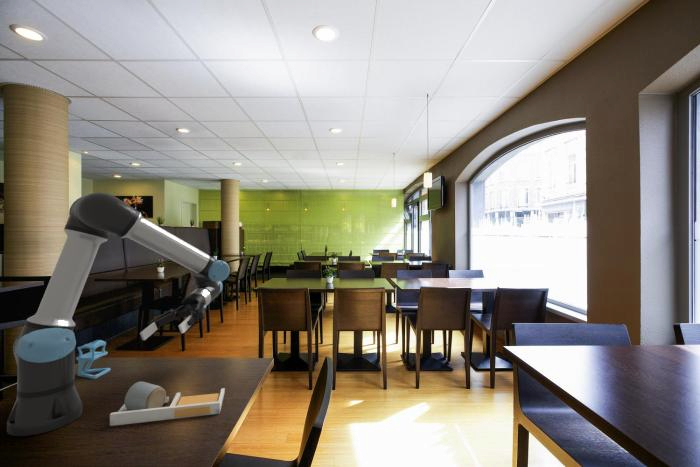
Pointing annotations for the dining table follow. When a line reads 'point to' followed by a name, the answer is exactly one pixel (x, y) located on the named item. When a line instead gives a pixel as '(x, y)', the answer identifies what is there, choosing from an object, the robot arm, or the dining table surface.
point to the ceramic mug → (145, 396)
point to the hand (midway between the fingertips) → (161, 333)
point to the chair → (91, 359)
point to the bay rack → (172, 409)
